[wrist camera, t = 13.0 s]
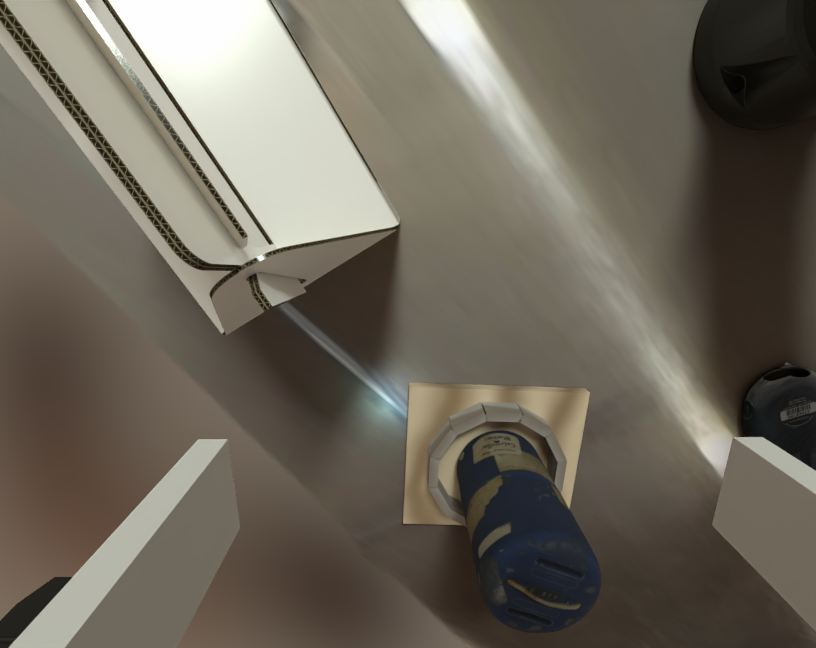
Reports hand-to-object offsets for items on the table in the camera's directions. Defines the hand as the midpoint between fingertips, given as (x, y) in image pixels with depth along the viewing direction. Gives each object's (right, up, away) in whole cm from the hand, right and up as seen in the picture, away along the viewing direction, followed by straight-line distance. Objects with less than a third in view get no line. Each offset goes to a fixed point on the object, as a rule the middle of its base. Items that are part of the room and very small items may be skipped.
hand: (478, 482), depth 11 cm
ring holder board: (+8, -11, +37) cm, 40 cm away
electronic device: (+42, -7, +37) cm, 57 cm away
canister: (+8, -12, +36) cm, 39 cm away
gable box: (-14, +20, +28) cm, 38 cm away
